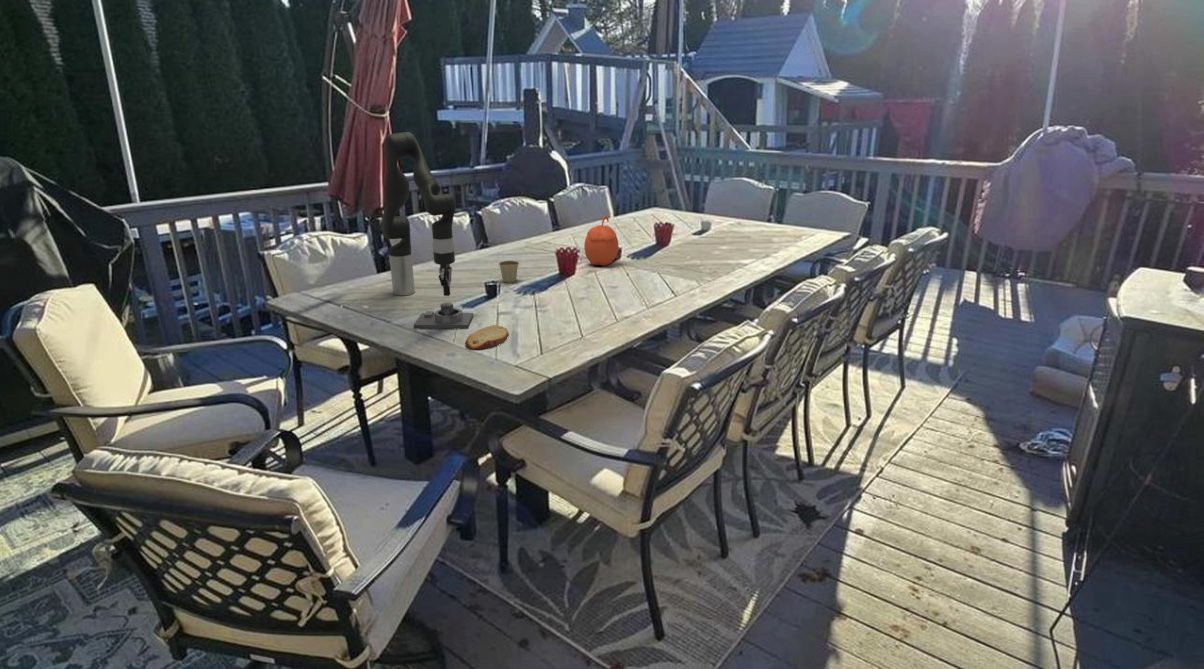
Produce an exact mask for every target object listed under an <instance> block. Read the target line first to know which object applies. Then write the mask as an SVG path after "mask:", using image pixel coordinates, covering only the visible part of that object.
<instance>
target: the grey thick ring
mask: <svg viewBox="0 0 1204 669" xmlns="http://www.w3.org/2000/svg"><path fill="white" fill-rule="evenodd" d="M453 310H454V315H441V308H440V309H438V310H435V311H434V314H435V321H436V322H437V323H440V324H453V323H458V322H460V321H462V319H463V313H464V312H463V310H462V309H460V308H457V307H453Z"/></svg>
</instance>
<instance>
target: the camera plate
mask: <svg viewBox="0 0 1204 669" xmlns="http://www.w3.org/2000/svg"><path fill="white" fill-rule="evenodd" d="M434 313H435V311H434V310H426V311H425V312H421V313H420V315H419V317H418V318H417V319H416V321H415V322H414V324H413V329H414V328H422V329H421V330H435V329H436V330H437V329H438V330H440V329H441V330H443V328H456V330H462V329H463V330H465V329H466V330H468V329H469V328H470V326H471V323H472V321H473V319H474V317H475V316H474V312H462V313H463V319H462V321H460V322H458V323H453V324H440V323H437V322H436V321H435V314H434ZM457 328H459V329H457Z"/></svg>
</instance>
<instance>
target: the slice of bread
mask: <svg viewBox="0 0 1204 669" xmlns="http://www.w3.org/2000/svg"><path fill="white" fill-rule="evenodd" d="M508 336H510V334H509V331H508V329H507V328H505V327H503V326H502V325H501V326H500V325H497V324H493V325H488V326H486V327H483V328H480V329H478V330H476V331H474V332H472V333H471V334H469V335H468V336H467V337H466V339H465V342H464V345H465V347H466V348H467V349H468V350H469V351H483V349H484V350H487V349H488V348H489V349H493V348H496V347H498V346H500V345H501V343H502V342H503V343H505V342H506V341H507V340H508V339H507V337H508ZM508 338H509V337H508ZM504 341H505V342H504ZM503 343H502V344H503ZM499 344H500V345H499ZM497 345H498V346H497ZM495 346H496V347H495ZM492 347H493V348H492Z"/></svg>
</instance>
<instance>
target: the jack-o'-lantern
mask: <svg viewBox="0 0 1204 669" xmlns="http://www.w3.org/2000/svg"><path fill="white" fill-rule="evenodd" d="M605 220H606V221H607V223H609V221H610V220H609V217H608V216H607V215H604V216H603V218H602V221H601V224H599V225H598V224H597V225H596V226H594V227H591V228H590V229H589V230H588V231H587V234H586V237H585V239H584V254H585V256H586V258H587V261H589V262H590V263H591V264H592V265H594V266H603V267H604V266H608V265H609V264H611V263H612V262H613V261H614V260H615V258H616V257H617V255H618V252H619V240H618V237H617V233H616V231H615V230H614V229H613V228H612V227H610V226H609V225H604V222H605Z"/></svg>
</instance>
